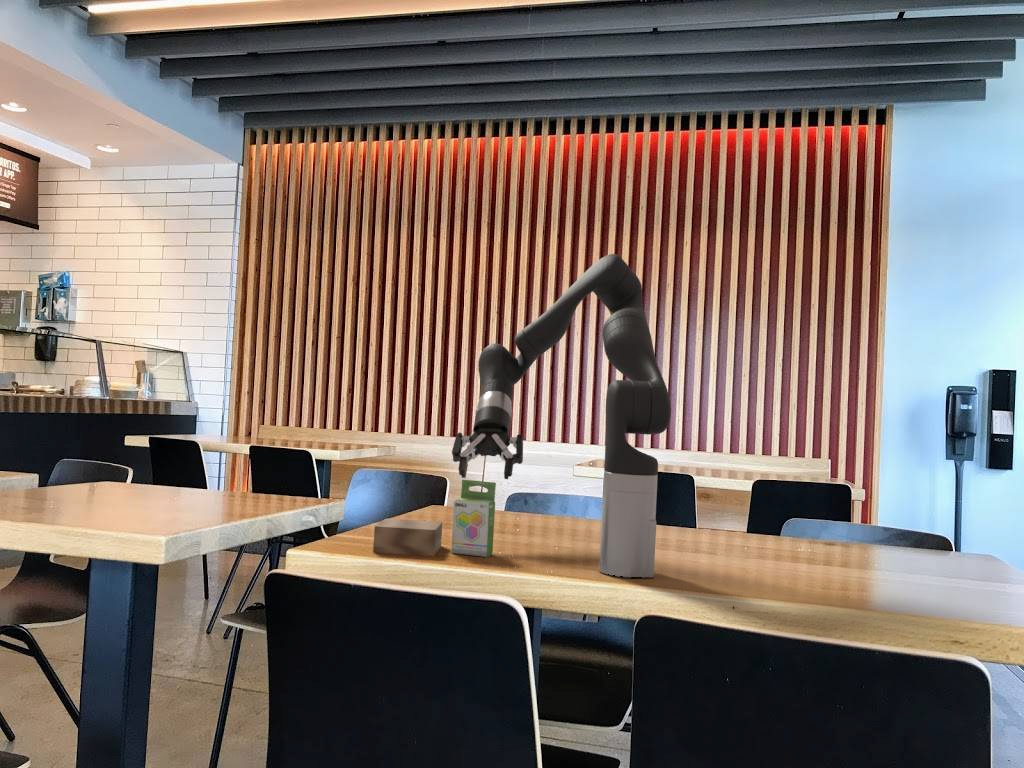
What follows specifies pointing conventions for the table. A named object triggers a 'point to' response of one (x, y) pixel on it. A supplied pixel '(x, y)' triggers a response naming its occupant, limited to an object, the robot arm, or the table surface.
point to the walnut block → (407, 537)
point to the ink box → (474, 520)
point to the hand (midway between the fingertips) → (484, 475)
